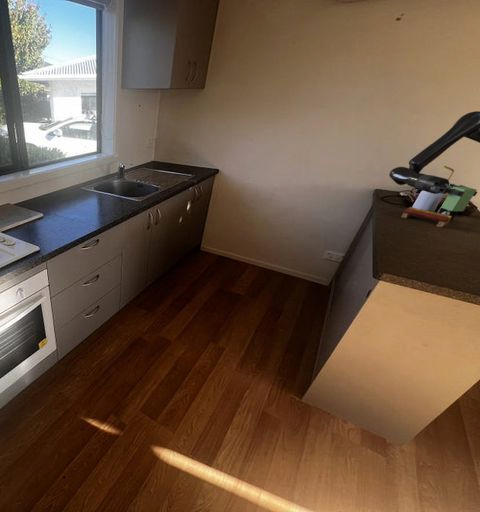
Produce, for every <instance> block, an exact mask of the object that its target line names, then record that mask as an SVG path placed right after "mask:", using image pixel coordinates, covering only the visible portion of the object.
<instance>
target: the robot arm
mask: <svg viewBox="0 0 480 512" xmlns="http://www.w3.org/2000/svg"><path fill="white" fill-rule="evenodd" d="M463 138H466V139H469V140H471V141H475V142H477V143H479V144H480V111H479V110H476V111H469V112H467V113H466V114H464V115H462V116H461V117H459V118H458V119H457V120H456V121H455V122H454V123H453V125H452V127H451V128H449V130H448V131H446V132H445V133H444V134H442V135H441V136H440V137H439V138H438V139H436V140H434V142H432V143H430V144H429V145H428V146H427V147H425V148H423V149H422V150H421V151H420V152H418V153H417V154H416V155H415V156H413V157H412V158H411V159H409V161H408V165H409V166H408V167H407V166H397V167H395V168H393V169H391V170H390V171H389V173H388V177H389V178H390V179H391V180H392V181H393V182H394V183H395V184H396V185H399V186H405V185H407V186H408V187H411V188H415V189H418V190H420V191H426V192H429V193H433V194H438V193H443V194H444V195H449V194H453V195H456V196H462V195H463V193H464V192H463V191H460V190H456V189H453V187H468V186H466V185H463V184H459V185H458V184H455V183H450V180H448V178H445V177H440V176H436V175H433V174H426V173H423V172H422V170H423V169H424V168H425V167H427V166H428V165H430V164H431V163H432V162H433V161H435V160H436V159H437V158H438V157H440V156H442V154H443V153H445V152H446V151H447V150H448V149H450V148H451V147H452V146H453V145H455V144H456V143H457V142H459V141H460V140H462V139H463ZM421 172H422V173H421ZM468 188H470V187H468ZM477 194H478V190H476V192H475V193H474V195H473V197H476V195H477Z"/></svg>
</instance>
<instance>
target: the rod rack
mask: <svg viewBox="0 0 480 512" xmlns="http://www.w3.org/2000/svg"><path fill="white" fill-rule="evenodd" d="M413 215H414V216H417V217H423V218H426V219H431V220H435V221H438V223H437V224H436V227H438V228H443V227H446V226H447V225H448V224H449V223H450V222H451V221H450V219H451V218H452V216H449V215H444V214H440V213H437V212H436V211H434V212H431V211H426V210H422V209H417V208H413V207H412V206H409V207H406V208H405V209H404V211H403V212H402V214H401V216H400V217H401V218H404V219H407V218H410V217H412V216H413Z"/></svg>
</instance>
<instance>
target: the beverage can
mask: <svg viewBox="0 0 480 512" xmlns="http://www.w3.org/2000/svg"><path fill="white" fill-rule="evenodd" d="M442 205H443V204H442ZM436 213H440V214H444V215H449V216H452V218H451V219H450V221H449V222H451V221H454V219H455V217H456V216H457V214H458V213H459V211H450V210H447V209H444V208H441V207H440V208H439V209H438V211H437V212H436Z"/></svg>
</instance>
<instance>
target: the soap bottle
mask: <svg viewBox="0 0 480 512" xmlns="http://www.w3.org/2000/svg"><path fill="white" fill-rule="evenodd" d="M443 168H444V169H447V170H449V171H451V173H450V175H449V177H448V178H447V179H448V181H450V180H451V177H452V176H453V174H454V172H455V169H454V168H452V167H449V166H447V165H444V166H443ZM444 197H445V194H443V193H438V194H433V193H429V192H426V191H423V190H420V193H419V194H418V196H417V197H416V200H415V201H414V203H413V205H412V206H411V207H413V208H417V209H422V210H426V211H431V212H436V209H437V208H438V207H437V206H438V204H439V203H440V202H442V200H443V198H444Z"/></svg>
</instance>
